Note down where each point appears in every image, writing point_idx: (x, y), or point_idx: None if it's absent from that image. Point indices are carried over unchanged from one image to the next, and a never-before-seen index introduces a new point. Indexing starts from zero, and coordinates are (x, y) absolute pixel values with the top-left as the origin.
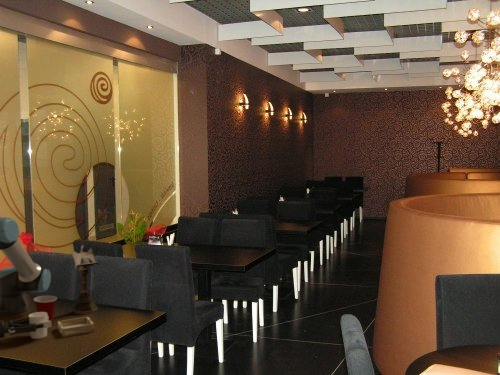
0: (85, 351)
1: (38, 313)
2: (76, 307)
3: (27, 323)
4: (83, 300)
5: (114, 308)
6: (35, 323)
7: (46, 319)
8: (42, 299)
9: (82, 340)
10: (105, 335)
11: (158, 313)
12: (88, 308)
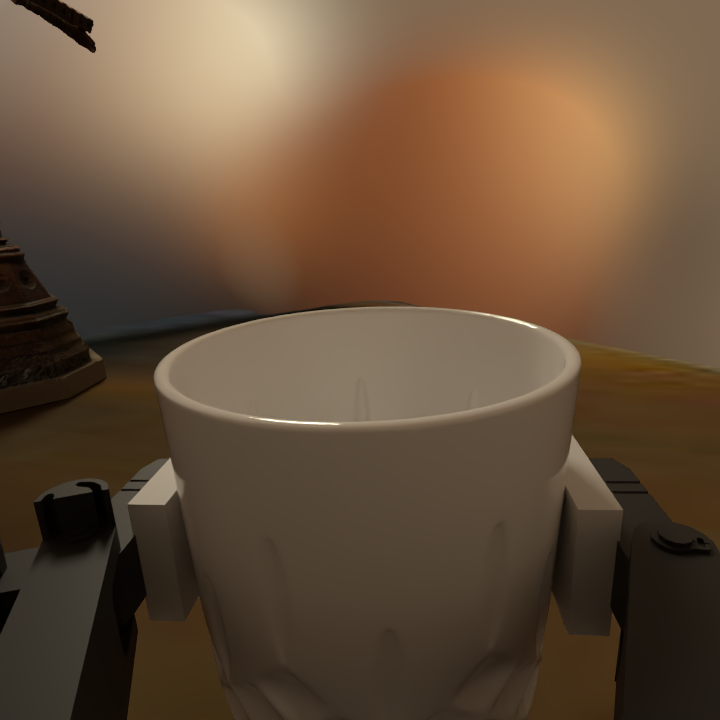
0: None
1: (205, 365)
2: None
3: (117, 699)
4: (32, 306)
5: (151, 340)
6: (587, 517)
7: (460, 394)
8: None
9: (715, 448)
10: (616, 381)
11: (371, 303)
12: (79, 354)
